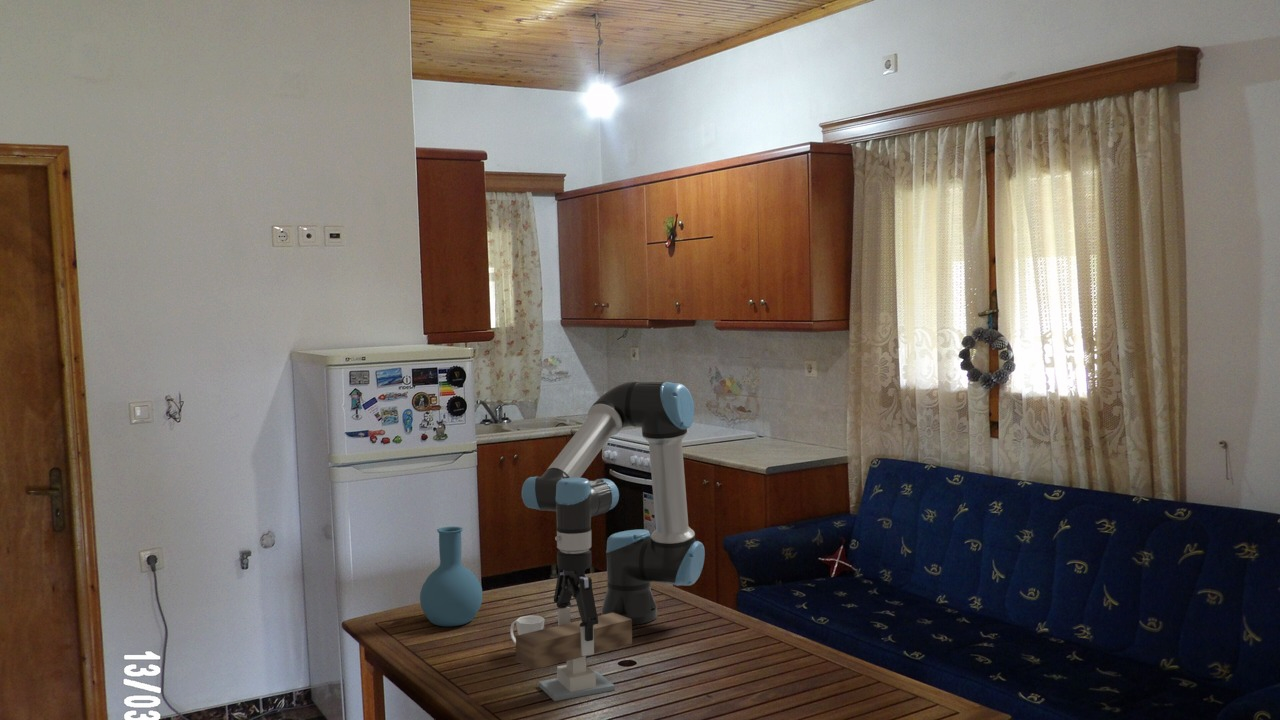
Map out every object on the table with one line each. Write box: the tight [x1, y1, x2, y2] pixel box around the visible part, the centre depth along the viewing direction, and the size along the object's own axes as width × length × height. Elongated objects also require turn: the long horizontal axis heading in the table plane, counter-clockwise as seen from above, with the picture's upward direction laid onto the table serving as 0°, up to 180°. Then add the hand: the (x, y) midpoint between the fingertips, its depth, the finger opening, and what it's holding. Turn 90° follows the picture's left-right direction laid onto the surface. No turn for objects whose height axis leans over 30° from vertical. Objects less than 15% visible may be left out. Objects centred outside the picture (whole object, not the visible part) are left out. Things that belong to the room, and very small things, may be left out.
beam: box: [515, 613, 633, 671], centre depth 222 cm, size 26×7×6 cm, turn 128°
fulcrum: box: [538, 656, 616, 702], centre depth 222 cm, size 14×10×8 cm
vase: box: [419, 526, 483, 628], centre depth 272 cm, size 16×16×25 cm
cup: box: [509, 614, 545, 645], centre depth 247 cm, size 7×10×8 cm
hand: (575, 645), depth 222 cm, fingers open, 13 cm apart
